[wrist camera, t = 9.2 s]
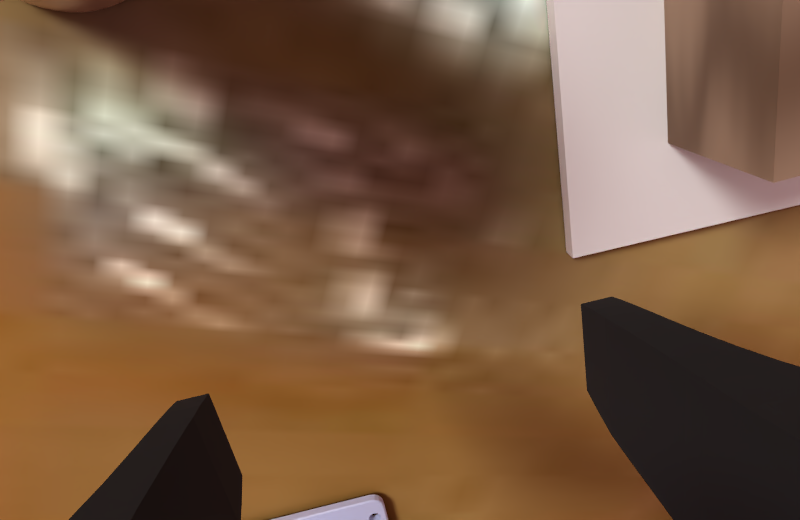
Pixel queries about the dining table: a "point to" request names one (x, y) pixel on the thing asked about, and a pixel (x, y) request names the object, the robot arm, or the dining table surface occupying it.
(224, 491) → the robot arm
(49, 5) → the beer glass
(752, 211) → the ceramic tile
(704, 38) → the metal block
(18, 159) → the dining table surface
